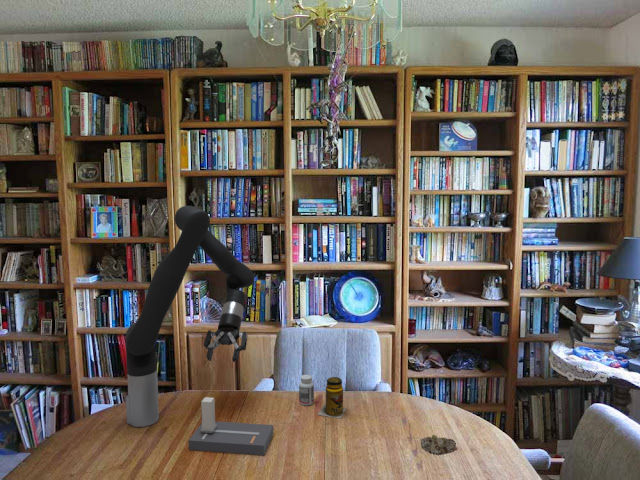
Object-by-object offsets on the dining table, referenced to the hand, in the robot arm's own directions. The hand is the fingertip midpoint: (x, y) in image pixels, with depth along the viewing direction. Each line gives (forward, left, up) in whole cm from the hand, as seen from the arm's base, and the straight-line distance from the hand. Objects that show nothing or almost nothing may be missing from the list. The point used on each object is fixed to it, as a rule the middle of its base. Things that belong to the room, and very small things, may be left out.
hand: (221, 360), depth 155 cm
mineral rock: (+70, -8, -21) cm, 74 cm away
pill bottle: (+26, +16, -21) cm, 37 cm away
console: (+7, -13, -21) cm, 26 cm away
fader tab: (0, -13, -17) cm, 22 cm away
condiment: (+36, +10, -21) cm, 43 cm away
